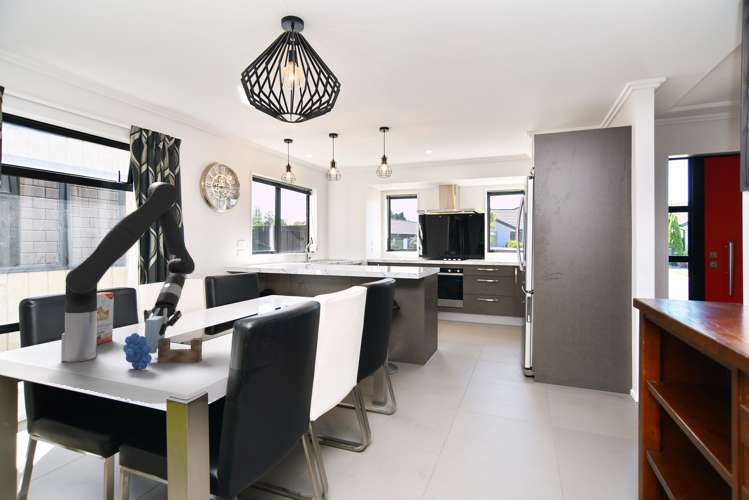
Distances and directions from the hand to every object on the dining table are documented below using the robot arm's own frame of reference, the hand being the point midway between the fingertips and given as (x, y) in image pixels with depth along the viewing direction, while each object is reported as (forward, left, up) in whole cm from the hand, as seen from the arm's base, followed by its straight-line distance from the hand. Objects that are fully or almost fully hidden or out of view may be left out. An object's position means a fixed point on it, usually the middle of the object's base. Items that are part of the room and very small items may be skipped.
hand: (154, 334), depth 141 cm
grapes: (-1, -12, -9) cm, 16 cm away
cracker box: (-34, +24, -9) cm, 42 cm away
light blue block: (0, 0, -6) cm, 6 cm away
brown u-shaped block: (+10, -4, -9) cm, 14 cm away
